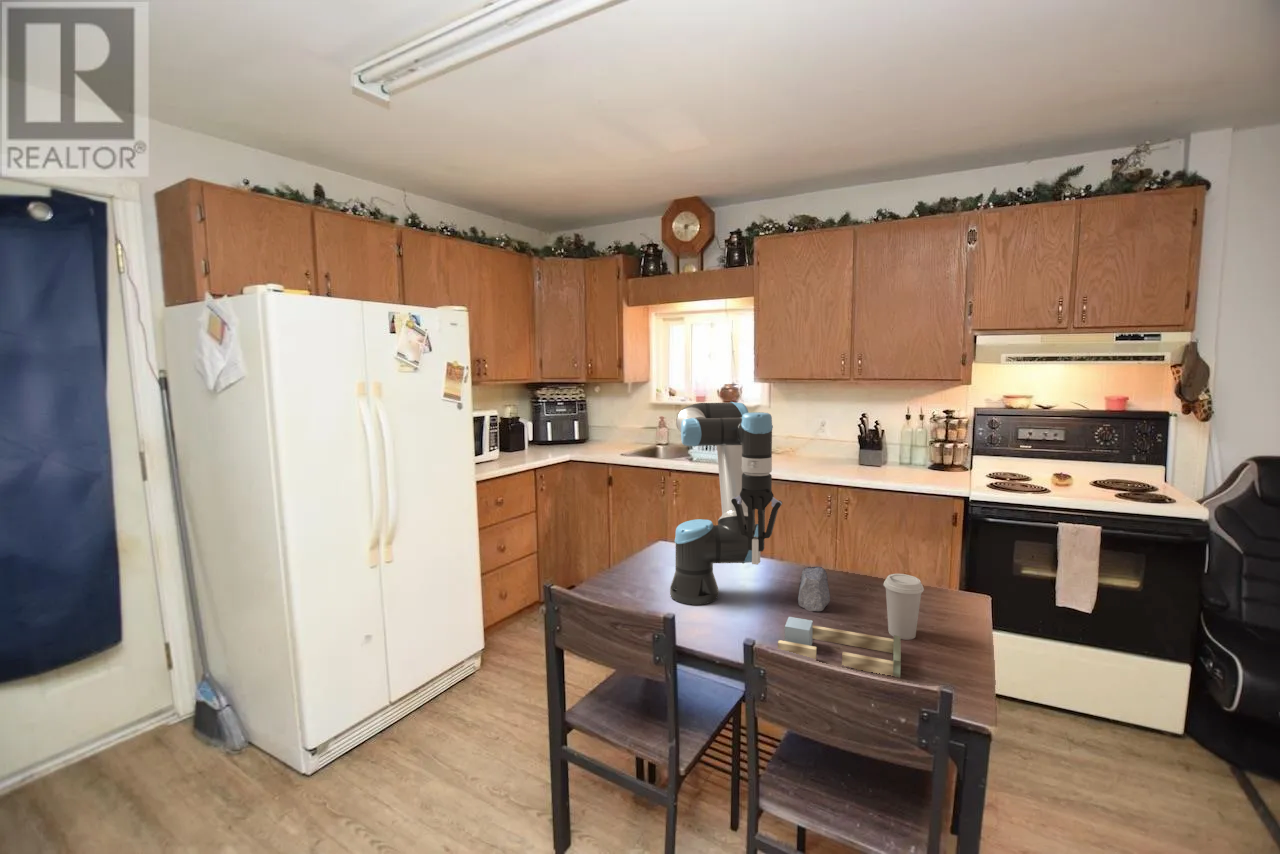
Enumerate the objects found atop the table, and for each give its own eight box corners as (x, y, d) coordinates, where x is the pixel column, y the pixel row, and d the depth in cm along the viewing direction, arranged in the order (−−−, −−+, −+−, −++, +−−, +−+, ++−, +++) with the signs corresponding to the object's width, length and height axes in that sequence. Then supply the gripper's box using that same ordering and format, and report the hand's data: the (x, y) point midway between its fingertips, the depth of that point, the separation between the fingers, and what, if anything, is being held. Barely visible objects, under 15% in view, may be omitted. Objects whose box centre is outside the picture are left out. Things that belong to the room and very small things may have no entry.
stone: (804, 601, 173) (836, 597, 168) (799, 620, 165) (832, 616, 160) (791, 567, 172) (823, 562, 167) (785, 584, 163) (819, 579, 158)
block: (784, 649, 141) (784, 626, 140) (788, 638, 146) (788, 616, 146) (809, 653, 138) (809, 630, 138) (812, 642, 144) (812, 620, 143)
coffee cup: (875, 626, 152) (876, 573, 150) (908, 624, 153) (910, 571, 151) (894, 643, 143) (896, 586, 141) (929, 641, 143) (932, 585, 142)
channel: (777, 654, 138) (777, 638, 138) (787, 631, 150) (787, 617, 149) (900, 678, 127) (900, 661, 126) (899, 651, 138) (900, 636, 138)
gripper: (727, 474, 142) (727, 563, 144) (779, 477, 136) (778, 570, 139) (735, 469, 149) (735, 555, 151) (785, 472, 143) (784, 561, 145)
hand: (756, 562), depth 145 cm, fingers closed
